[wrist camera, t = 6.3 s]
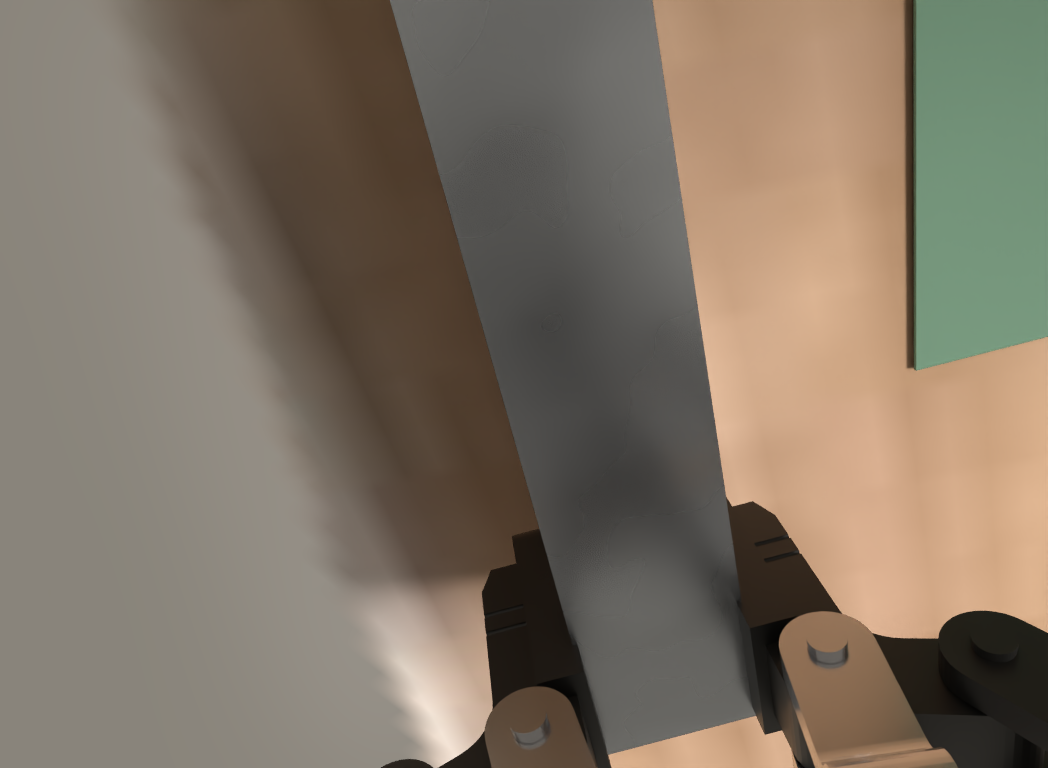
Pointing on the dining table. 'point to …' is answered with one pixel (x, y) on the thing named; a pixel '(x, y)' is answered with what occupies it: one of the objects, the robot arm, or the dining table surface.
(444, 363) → the dining table surface
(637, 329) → the crook
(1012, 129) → the green flat plank
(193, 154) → the dining table surface
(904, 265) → the dining table surface
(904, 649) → the robot arm
